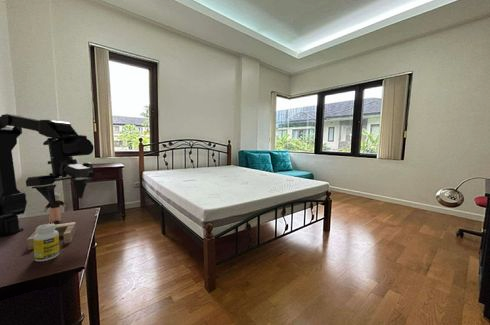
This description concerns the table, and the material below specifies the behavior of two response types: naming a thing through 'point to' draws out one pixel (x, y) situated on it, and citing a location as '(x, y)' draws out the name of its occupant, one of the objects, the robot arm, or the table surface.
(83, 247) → the table surface
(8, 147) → the robot arm
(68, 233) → the notched board
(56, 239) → the supplement bottle
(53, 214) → the grandmother figurine
